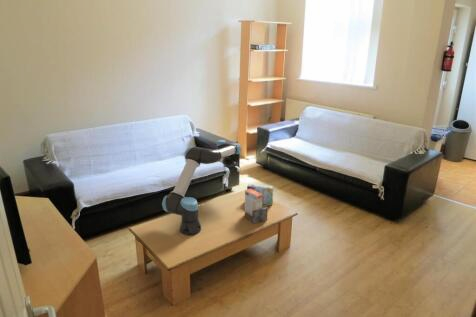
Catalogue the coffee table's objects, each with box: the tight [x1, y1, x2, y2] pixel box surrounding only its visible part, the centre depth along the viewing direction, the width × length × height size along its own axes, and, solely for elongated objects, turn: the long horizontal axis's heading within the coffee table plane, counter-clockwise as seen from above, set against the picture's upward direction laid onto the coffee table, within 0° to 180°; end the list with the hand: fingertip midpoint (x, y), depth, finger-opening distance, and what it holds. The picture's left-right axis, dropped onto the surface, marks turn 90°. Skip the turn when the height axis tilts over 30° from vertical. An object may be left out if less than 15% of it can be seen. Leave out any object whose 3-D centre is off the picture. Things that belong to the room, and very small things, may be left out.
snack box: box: [246, 183, 274, 206], centre depth 286 cm, size 21×6×15 cm, turn 75°
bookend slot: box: [244, 206, 269, 224], centre depth 262 cm, size 12×13×10 cm
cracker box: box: [244, 189, 263, 217], centre depth 262 cm, size 14×6×21 cm, turn 38°
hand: (239, 170), depth 275 cm, fingers closed
